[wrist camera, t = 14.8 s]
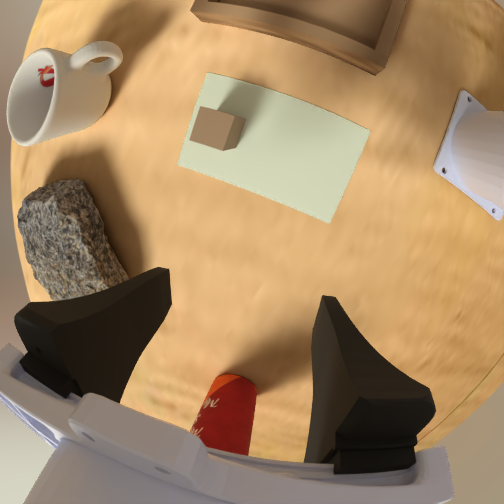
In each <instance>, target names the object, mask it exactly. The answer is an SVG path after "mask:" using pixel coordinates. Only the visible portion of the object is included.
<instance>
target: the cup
mask: <svg viewBox="0 0 504 504" xmlns="http://www.w3.org/2000/svg"><path fill="white" fill-rule="evenodd" d="M103 56H104V57H109V58H108V59H106V60H105V61H102V62H99V63H95V62H92V61H90V60H92V59H95V58H97V57H103ZM122 61H123V54H122V51H121V49H120V47H119V46H118V45H116V44H114V43H112V42H108V41H96V42H92V43H89V44H87V45H85V46H83V47H82V48H80V49H79V50H77V51H76V52H75V53H74V54H72V55H71V54H68V53H65V52H61V51H58V50H54V49H51V48H42V49H39V50H37V51H35V52H33V53H32V54H31V55H29V56H28V57H27V58H26V59H25V61H24V62H23V63H22V65H21V66H20V68H19V69H18V71H17V73H16V75H15V77H14V79H13V82H12V84H11V88H10V91H9V96H8V101H7V123H8V127H9V131H10V134H11V136H12V138H13V139H14V141H15V142H17V143H18V144H19V145H22V146H31V145H34V144H37V143H40V142H43V141H46V140H49V139H52V138H56V137H59V136H62V135H66V134H69V133H73V132H76V131H80V130H83V129H85V128H88V127H90V126H91V125H93V124H94V123H95V122H97V121H98V120H99V119H100V117H101V116H102V115H103V113H104V112H105V110H106V108H107V106H108V103H109V100H110V96H111V80H110V76H109V73H111V72H112V71H114V70H115V69H116V68H117V67H118V66H119V65H120V64H121V63H122Z"/></svg>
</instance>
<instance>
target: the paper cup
mask: <svg viewBox="0 0 504 504" xmlns="http://www.w3.org/2000/svg"><path fill="white" fill-rule="evenodd" d="M256 396H257V389H256V387H255V385H254V384H253V383H252V382H251V381H250V380H248V379H246V378H244V377H242V376H238V375H233V374H224V375H220V376H218V377H217V378H216V379H215V380H214V382H213V384H212V385H211V388H210V390H209V392H208V394H207V396H206V398H205V400H204V402H203V404H202V407H201V409H200V411H199V413H198V415H197V417H196V420H195V422H194V424H193V426H192V428H191V430H190V432H191V433H192V434H194V435H195V436H197V437H199V438H200V439H201V441H202V442H203V444H204V445H205V446H206V447H209V448H213V449H217V450H221V451H226V452H230V453H235V454H240V455H246V456H248V453H249V447H250V440H251V433H252V427H253V420H254V412H255V405H256Z"/></svg>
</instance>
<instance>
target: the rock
mask: <svg viewBox="0 0 504 504" xmlns="http://www.w3.org/2000/svg"><path fill="white" fill-rule="evenodd" d="M17 218H18V228H19V231H20V233H21V235H22V237H23V242H24V246H25V253H26V259H27V261H28V263H29V264H31V266H32V269H33V272H34V278H35V279H36V280H38V282H39V283H40V284H41V285H42V286H43V287H44V288H45V290H46V291H47V292H48V293H49V295H50V297H51V299H52V300H53V301H59V300H66V299H72V298H76V297H81V296H85V295H89V294H92V293H96V292H99V291H102V290H105V289H107V288H110V287H112V286H115V285H117V284H120V283H122V282H124V281H127V280H129V277H128V274H127V273H126V272H125V271H124V269H123V267H122V265H121V264H120V263H119V262H118V259H117V257H116V255H115V253H114V251H113V249H112V248H111V246H110V245H109V243H108V242H107V236H105V235H104V232H103V230H104V222H103V221H102V219H101V217H100V214H99V211H98V209H97V208H96V206H95V205H94V203H93V196H92V195H91V194H90V193H89V192H88V191H87V190H86V186H85V183H84V181H82V182H81V181H80V180H79V179H75V180H74V179H70V180H68V181H66V180H59V181H56V182H52V184H49V185H46V186H43V187H39V188H38V189H37V190H35V191H33V192H32V193H30V194H29V195H28V196H27V197H26V198H25V199H24V200H23V201H22V207H21V208H20V210H19V211H18V216H17Z"/></svg>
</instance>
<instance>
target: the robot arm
mask: <svg viewBox="0 0 504 504" xmlns="http://www.w3.org/2000/svg"><path fill="white" fill-rule="evenodd" d="M468 98H469V99H470V102H469V101H468ZM443 168H445V172H444V173H442V169H443ZM433 169H434V171H435V172H436V173H438V174H439V175H441V176H442V177H443V178H445V179H446V180H448V181H449V182H450V183H452V184H453V185H454V186H456V187H457V188H458V189H460V190H461V191H462V192H464V193H465V194H466V195H467V196H469V197H470V198H471V199H472V200H474V201H475V202H476V203H477V204H479V205H480V206H481V207H482V208H483V209H484V210H486V211H487V212H488V213H489V214H490V215H491V216H492V217H494V218H495V219H496V220H498V221H500V220H501V218H502V216H503V214H504V111H488V110H487V109H486V108H485V107H484V106H483V105H482V104H481V103H480V102H479V101H477V100H476V99H475V98H474V97H473V96H472V95H470V94H469V93H468V92H467V91H465V90H461V91H460V92H459V95H458V98H457V101H456V105H455V108H454V111H453V114H452V117H451V120H450V123H449V126H448V128H447V131H446V134H445V137H444V139H443V142H442V145H441V147H440V150H439V152H438V155H437V157H436V159H435V162H434V165H433ZM492 209H494V210H493V212H492ZM171 305H172V299H171V287H170V272H169V269H166V268H161V267H157V268H154V269H151V270H149V271H147V272H144V273H142V274H140V275H138V276H136V277H133V278H131V279H129V280H127V281H124V282H122V283H120V284H117V285H115V286H112V287H110V288H107V289H105V290H102V291H99V292H96V293H92V294H89V295H85V296H81V297H76V298H72V299H66V300H59V301H49V302H30V303H28V304H27V305H26V306H25V307H24V308H23V309H21V310H20V311H19V312H18V313H17V314H16V315H15V320H14V322H15V326H16V329H17V331H18V333H19V336H20V337H21V340H22V342H23V344H24V345H25V347H26V349H27V351H28V352H27V353H26V354H25V356H24V355H23V353H22V352H21V351H20V350H18V349H17V348H16V347H14V346H13V345H12V344H10V343H7V344H6V345H5V346H4V347H3V348H2V349H1V350H0V400H1V401H2V402H3V404H4V405H5V406H6V407H7V408H8V409H9V410H10V411H11V412H13V414H14V415H16V416H17V417H18V418H19V419H20V420H21V421H22V422H23V423H24V424H25V425H27V426H28V427H29V428H30V429H31V430H32V431H34V432H35V433H36V434H37V435H38V436H40V437H41V438H42V439H43V440H44V441H46V442H47V443H48V444H50V445H51V446H52V447H54V448H55V451H54V453H53V454H52V456H51V457H50V459H49V460H48V462H47V464H46V466H45V467H44V469H43V471H42V472H41V474H40V476H39V477H38V479H37V481H36V482H35V484H34V486H33V488H32V490H31V491H30V493H29V495H28V496H27V498H26V500H25V502H24V504H443V503H445V502H447V501H449V500H451V499H453V497H454V491H453V484H452V478H451V472H450V466H449V461H448V456H447V451H446V447H445V446H440V447H434V448H429V449H423V450H420V451H418V452H416V453H415V451H414V446H415V445H416V444H417V437H416V435H417V434H418V433H419V432H420V431H421V430H422V429H423V428H424V427H425V426H426V425H427V424H428V423H429V422H430V421H431V419H432V418H433V417H434V415H435V412H436V408H435V404H434V400H433V397H432V394H431V391H430V389H429V388H428V387H426V386H424V385H423V384H421V383H419V382H417V381H415V380H414V379H412V378H410V377H409V376H407V375H406V374H404V373H403V372H401V371H400V370H399V369H397V368H396V367H395V366H393V365H392V364H391V363H390V362H388V361H387V360H386V359H385V358H384V357H383V356H382V355H380V354H379V353H378V352H377V351H376V350H375V349H374V348H373V347H372V346H371V345H370V344H369V342H368V341H367V340H366V339H365V338H364V337H363V335H362V334H361V333H360V332H359V331H358V329H357V328H356V327H355V325H354V324H353V323H352V321H351V320H350V318H349V317H348V315H347V314H346V312H345V311H344V309H343V308H342V306H341V305H340V303H339V302H338V300H337V299H336V297H332V296H325V295H322V298H321V302H320V306H319V309H318V313H317V316H316V320H315V324H314V327H313V332H312V346H311V351H312V372H313V401H312V412H311V421H310V428H309V435H308V442H307V448H306V454H305V459H304V463H299V462H288V461H279V460H271V459H264V458H257V457H251V456H246V455H240V454H235V453H230V452H226V451H221V450H217V449H213V448H209V447H206V446H205V445H204V444H203V442H202V441H201V439H200V438H199V437H197V436H195V435H194V434H192V433H191V432H189V431H188V430H186V429H183V428H181V427H178V426H176V425H174V424H171V423H169V422H166V421H163V420H160V419H157V418H154V417H151V416H149V415H146V414H143V413H141V412H138V411H136V410H133V409H131V408H128V407H126V406H123V405H121V404H119V403H120V400H121V398H122V395H123V392H124V390H125V387H126V385H127V383H128V380H129V378H130V376H131V373H132V371H133V369H134V367H135V365H136V363H137V361H138V359H139V357H140V356H141V354H142V352H143V351H144V349H145V348H146V346H147V345H148V343H149V342H150V340H151V339H152V337H153V336H154V334H155V333H156V331H157V330H158V328H159V327H160V325H161V324H162V322H163V321H164V319H165V317H166V315H167V313H168V311H169V309H170V307H171Z"/></svg>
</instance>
